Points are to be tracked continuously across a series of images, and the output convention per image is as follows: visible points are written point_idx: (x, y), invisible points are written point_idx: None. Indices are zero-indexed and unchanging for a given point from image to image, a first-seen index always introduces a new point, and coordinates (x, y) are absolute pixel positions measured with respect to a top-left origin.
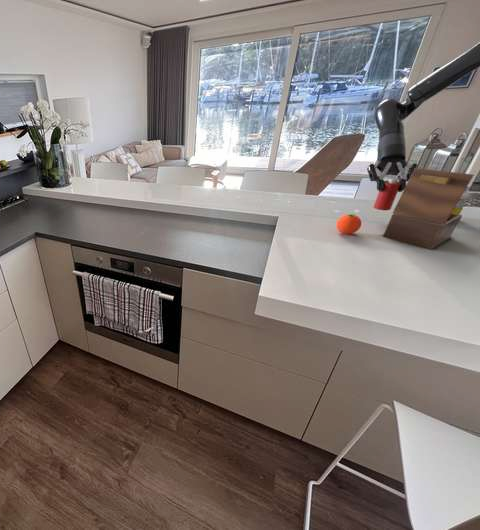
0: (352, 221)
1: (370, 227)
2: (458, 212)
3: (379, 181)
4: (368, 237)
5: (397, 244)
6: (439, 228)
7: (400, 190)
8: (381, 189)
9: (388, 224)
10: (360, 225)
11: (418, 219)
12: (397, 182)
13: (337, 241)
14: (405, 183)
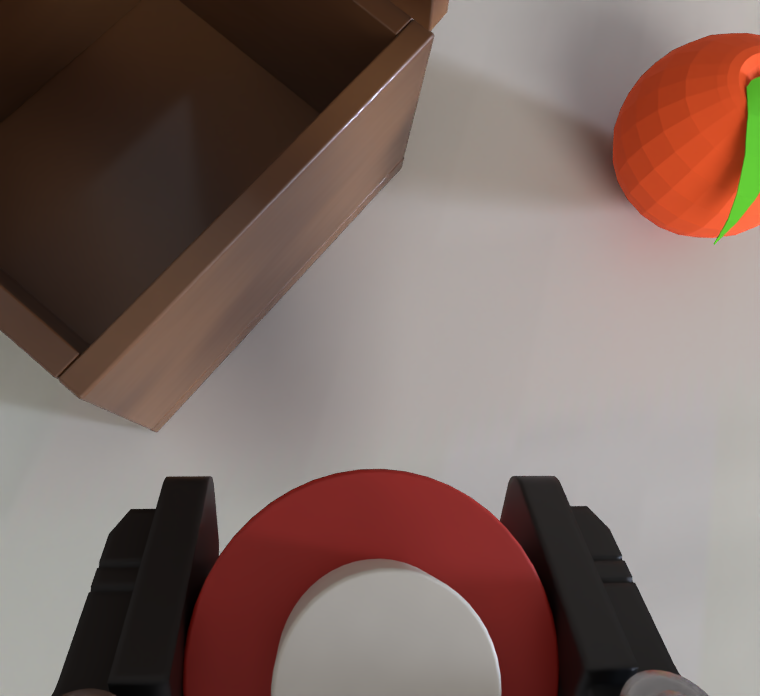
0: (743, 33)
1: (446, 350)
2: None
3: (652, 657)
4: (515, 124)
5: None
6: None
7: (213, 501)
8: (545, 476)
9: (414, 104)
10: (639, 82)
11: (59, 325)
12: (252, 664)
13: (734, 24)
14: (91, 619)
